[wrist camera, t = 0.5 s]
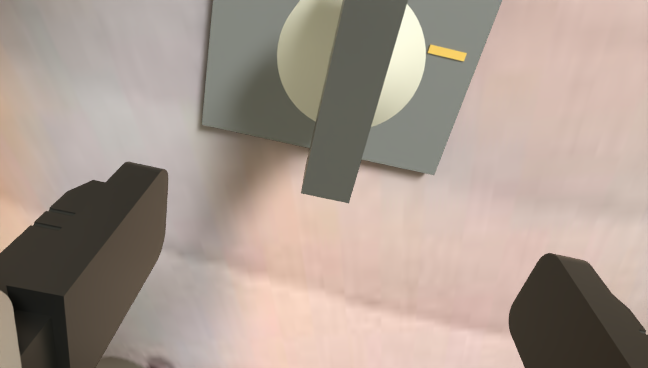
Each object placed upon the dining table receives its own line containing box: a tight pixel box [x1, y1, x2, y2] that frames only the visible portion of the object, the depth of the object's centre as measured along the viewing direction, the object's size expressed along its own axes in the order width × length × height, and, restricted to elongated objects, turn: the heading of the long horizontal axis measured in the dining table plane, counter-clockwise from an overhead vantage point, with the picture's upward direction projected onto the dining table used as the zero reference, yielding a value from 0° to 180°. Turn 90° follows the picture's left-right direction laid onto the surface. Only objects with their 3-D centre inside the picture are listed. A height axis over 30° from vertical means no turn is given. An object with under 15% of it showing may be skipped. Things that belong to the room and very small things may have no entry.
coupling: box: [277, 0, 426, 203], centre depth 23 cm, size 11×8×8 cm
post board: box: [202, 0, 502, 175], centre depth 30 cm, size 20×20×8 cm
